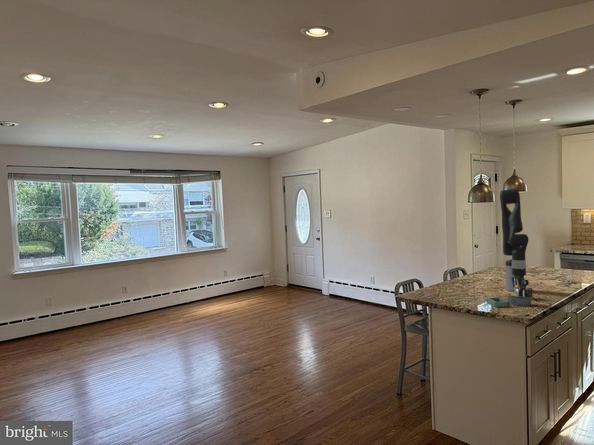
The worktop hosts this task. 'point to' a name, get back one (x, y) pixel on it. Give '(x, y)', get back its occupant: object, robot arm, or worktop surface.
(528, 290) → the medicine bottle
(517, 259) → the robot arm
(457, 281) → the worktop surface
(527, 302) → the block
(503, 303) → the tray
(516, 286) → the brass-capped metal pin
